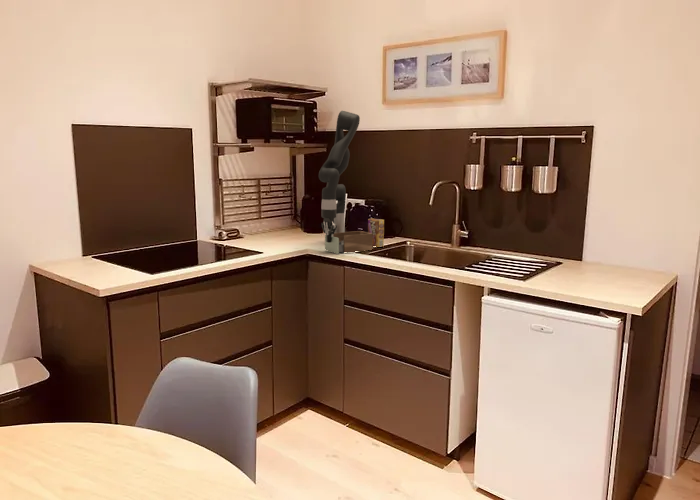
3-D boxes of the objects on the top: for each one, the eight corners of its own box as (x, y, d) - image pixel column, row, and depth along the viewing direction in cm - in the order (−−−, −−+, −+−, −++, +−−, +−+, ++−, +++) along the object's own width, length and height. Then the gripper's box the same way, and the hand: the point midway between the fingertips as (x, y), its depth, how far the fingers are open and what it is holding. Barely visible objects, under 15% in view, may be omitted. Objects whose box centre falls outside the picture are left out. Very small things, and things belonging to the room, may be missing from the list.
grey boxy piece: (324, 250, 278) (324, 234, 277) (352, 247, 287) (352, 232, 285) (337, 253, 267) (337, 238, 266) (365, 251, 276) (365, 235, 274)
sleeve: (333, 250, 280) (333, 233, 278) (360, 247, 289) (360, 230, 287) (344, 253, 270) (344, 235, 269) (372, 250, 279) (372, 233, 277)
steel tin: (339, 248, 278) (339, 240, 277) (347, 247, 281) (348, 239, 280) (344, 249, 273) (344, 241, 273) (353, 248, 276) (353, 241, 275)
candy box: (384, 247, 288) (384, 219, 286) (378, 248, 286) (378, 220, 283) (373, 245, 295) (373, 218, 292) (367, 246, 292) (367, 218, 290)
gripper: (341, 209, 265) (341, 243, 268) (329, 206, 276) (329, 239, 279) (328, 209, 261) (328, 244, 264) (316, 207, 272) (316, 241, 275)
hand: (328, 242), depth 271 cm, fingers closed
